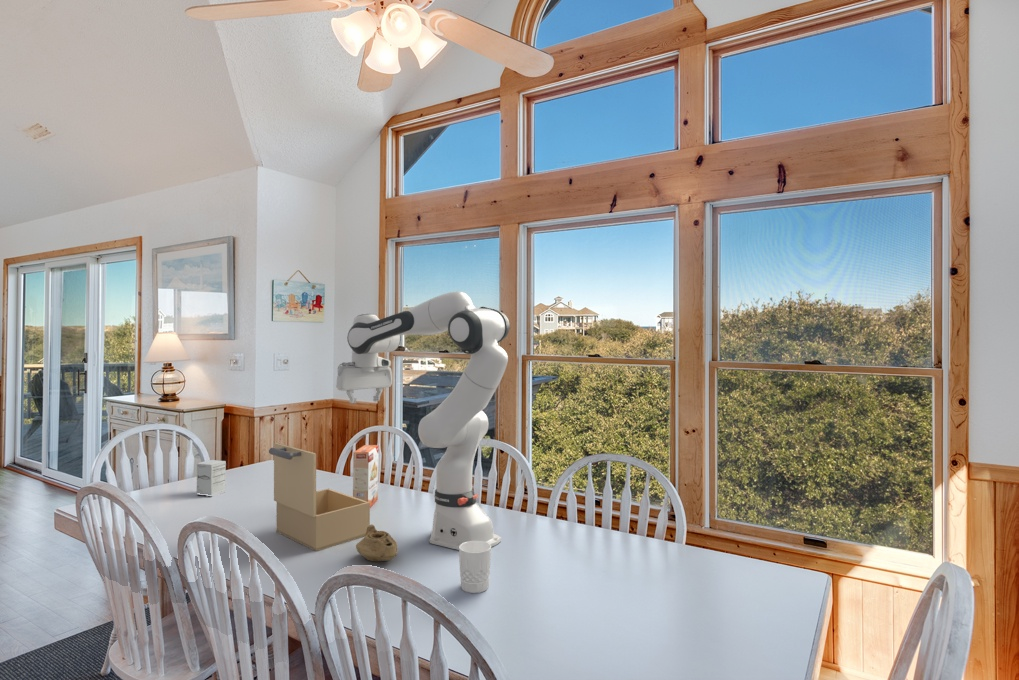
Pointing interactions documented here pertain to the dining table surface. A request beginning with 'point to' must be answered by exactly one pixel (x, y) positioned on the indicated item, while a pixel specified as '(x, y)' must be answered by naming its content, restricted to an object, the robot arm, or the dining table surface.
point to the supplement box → (211, 477)
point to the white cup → (474, 566)
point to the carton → (325, 520)
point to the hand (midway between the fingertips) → (364, 402)
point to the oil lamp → (377, 545)
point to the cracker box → (366, 473)
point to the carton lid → (295, 478)
